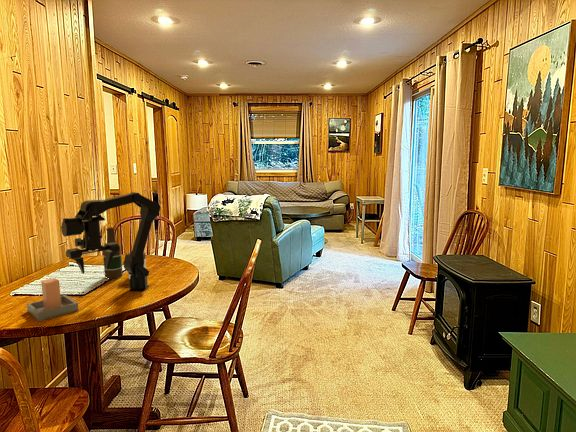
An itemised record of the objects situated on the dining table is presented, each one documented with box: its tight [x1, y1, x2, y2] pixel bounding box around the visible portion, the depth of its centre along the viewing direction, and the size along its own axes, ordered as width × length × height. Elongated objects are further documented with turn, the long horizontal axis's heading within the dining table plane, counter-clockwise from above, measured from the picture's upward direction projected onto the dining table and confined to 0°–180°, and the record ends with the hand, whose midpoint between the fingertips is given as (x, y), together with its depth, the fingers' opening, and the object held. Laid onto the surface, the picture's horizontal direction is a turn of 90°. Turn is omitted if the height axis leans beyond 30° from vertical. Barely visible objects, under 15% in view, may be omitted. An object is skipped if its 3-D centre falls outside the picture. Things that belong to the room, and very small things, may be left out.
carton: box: [40, 277, 62, 310], centre depth 147 cm, size 5×5×11 cm
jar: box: [126, 251, 147, 280], centre depth 188 cm, size 9×8×12 cm
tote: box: [26, 294, 79, 322], centre depth 148 cm, size 13×13×3 cm
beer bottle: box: [102, 227, 123, 280], centre depth 188 cm, size 8×8×24 cm
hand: (95, 271), depth 158 cm, fingers open, 9 cm apart
